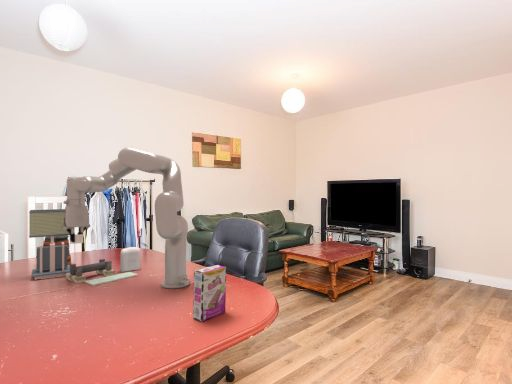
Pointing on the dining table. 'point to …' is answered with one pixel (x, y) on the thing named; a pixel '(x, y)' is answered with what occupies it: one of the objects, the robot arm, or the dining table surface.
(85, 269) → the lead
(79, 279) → the clamp board
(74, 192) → the robot arm
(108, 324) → the dining table surface
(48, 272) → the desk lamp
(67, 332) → the dining table surface
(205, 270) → the candy bar box
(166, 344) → the dining table surface
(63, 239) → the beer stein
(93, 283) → the mat
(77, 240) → the beige rectangular block
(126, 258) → the photo printer
